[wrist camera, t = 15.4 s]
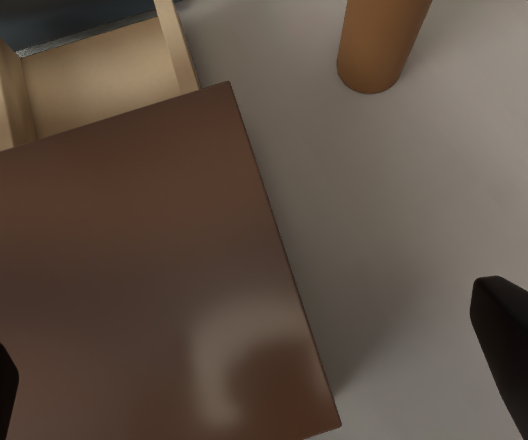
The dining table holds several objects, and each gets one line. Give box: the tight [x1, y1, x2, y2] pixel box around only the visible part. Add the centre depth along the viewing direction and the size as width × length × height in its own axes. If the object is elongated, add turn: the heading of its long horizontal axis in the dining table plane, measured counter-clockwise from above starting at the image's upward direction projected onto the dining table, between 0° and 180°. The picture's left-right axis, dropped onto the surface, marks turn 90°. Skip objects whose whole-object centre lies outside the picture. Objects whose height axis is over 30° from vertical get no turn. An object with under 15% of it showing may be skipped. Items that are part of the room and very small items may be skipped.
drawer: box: [0, 0, 201, 151], centre depth 23 cm, size 17×10×4 cm, turn 18°
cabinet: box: [0, 81, 342, 440], centre depth 20 cm, size 14×12×6 cm
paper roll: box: [337, 0, 432, 94], centre depth 21 cm, size 3×3×9 cm
